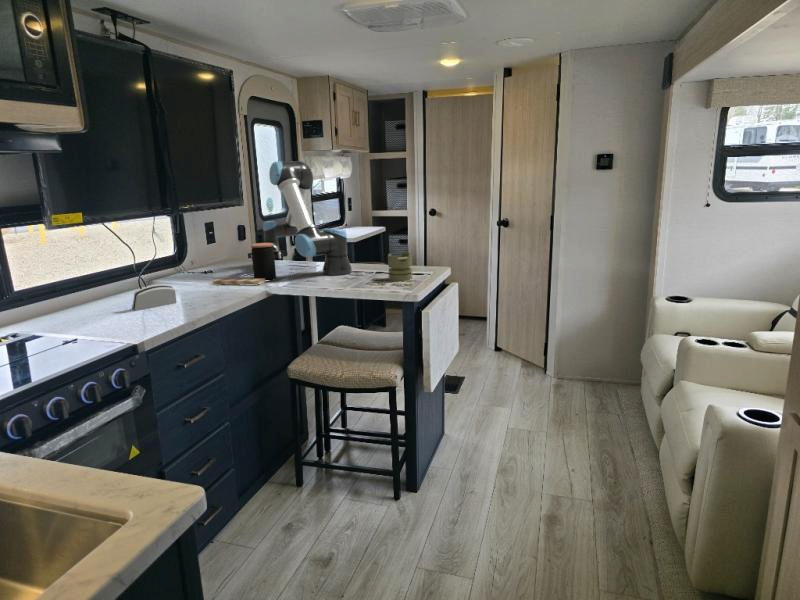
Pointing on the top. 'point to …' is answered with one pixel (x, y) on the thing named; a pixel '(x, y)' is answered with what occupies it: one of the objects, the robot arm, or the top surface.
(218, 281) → the oak board
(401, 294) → the top surface
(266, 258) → the coffee jar
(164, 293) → the beige arched block
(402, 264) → the piston
